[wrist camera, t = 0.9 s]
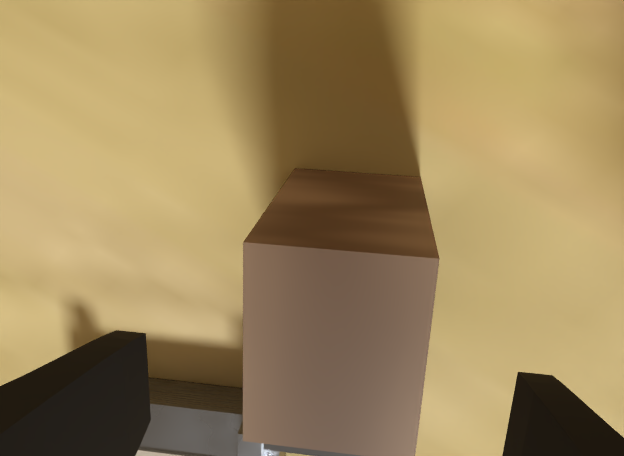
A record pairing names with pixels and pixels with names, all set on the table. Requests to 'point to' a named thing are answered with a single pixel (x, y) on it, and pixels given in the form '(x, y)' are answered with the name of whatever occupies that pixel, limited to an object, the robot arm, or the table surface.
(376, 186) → the walnut finger
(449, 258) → the table surface
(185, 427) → the rail
